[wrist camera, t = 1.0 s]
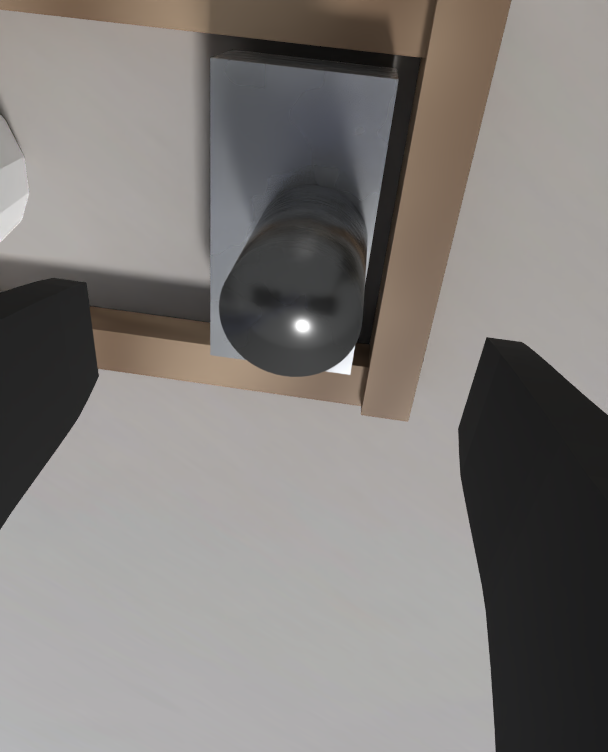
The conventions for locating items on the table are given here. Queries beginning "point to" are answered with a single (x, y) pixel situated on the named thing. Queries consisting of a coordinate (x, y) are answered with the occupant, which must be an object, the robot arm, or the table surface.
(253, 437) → the table surface
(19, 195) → the white tapered cylinder
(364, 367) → the wooden tray
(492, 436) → the robot arm
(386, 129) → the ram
